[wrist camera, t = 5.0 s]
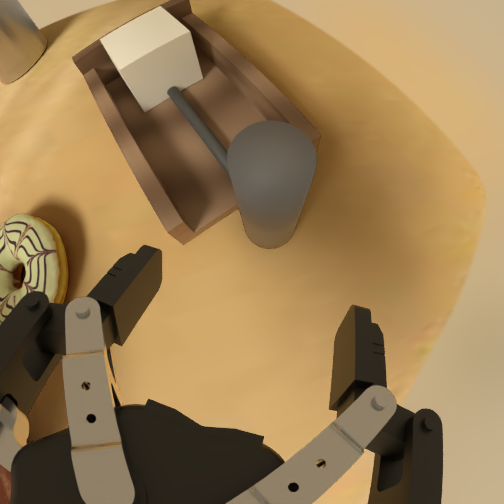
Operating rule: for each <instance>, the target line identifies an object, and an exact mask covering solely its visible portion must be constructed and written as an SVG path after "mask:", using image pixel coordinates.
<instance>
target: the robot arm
mask: <svg viewBox="0 0 504 504" xmlns="http://www.w3.org/2000/svg"><path fill="white" fill-rule="evenodd" d="M46 46H47V40H46V38H45V37H44V36H43V34H42V33H41V32H40V30H39V29H38V28H37V26H36V25H35V23H34V22H33V21H32V19H31V18H30V17H29V15H28V14H27V12H26V11H25V10H24V8H23V7H22V6H21V4H20V3H19V1H18V0H0V81H1V82H2V83H4V84H8V83H11V82H13V81H15V80H17V79H18V78H19V77H21V76H22V75H23V74H25V73H26V72H27V71H28V70H29V69H30V68H31V67H32V66H33V65H34V64H35V63H36V61H37V60H38V59H39V58H40V56H41V55H42V54H43V52H44V50H45V48H46ZM161 282H162V251H161V250H160V249H157V248H154V247H150V246H147V245H143V246H142V247H141V248H140V249H139V250H138V251H137V252H136V254H132V253H129V254H127V255H125V256H123V257H122V258H120V259H119V260H118V261H117V262H116V263H115V264H114V265H113V268H111V269H110V270H109V271H108V272H107V274H106V275H105V276H104V277H103V278H102V279H101V280H100V281H99V283H98V284H97V285H96V286H95V287H94V288H93V290H92V291H91V292H90V293H89V294H88V295H87V297H80V298H76V299H74V300H73V301H71V302H70V303H69V304H58V303H51V302H50V301H49V299H48V296H47V295H46V294H45V293H43V292H41V291H33V292H30V293H28V294H26V295H25V296H23V298H22V299H21V300H20V301H19V302H18V303H17V305H16V306H15V307H14V308H13V310H12V311H11V312H10V313H9V314H8V316H7V317H6V318H5V320H4V321H3V322H2V323H1V325H0V465H2V466H3V467H4V468H6V469H7V470H8V471H10V472H11V497H10V503H9V504H312V503H313V502H315V501H316V500H317V499H318V498H319V497H320V496H321V495H322V494H323V493H325V492H326V491H327V490H328V489H329V488H330V487H331V486H332V485H333V484H334V483H335V482H336V481H337V480H338V479H339V478H340V477H341V476H342V475H343V474H344V473H345V472H346V471H347V470H348V469H349V468H350V467H351V466H352V465H353V464H354V463H355V462H356V461H357V460H358V459H359V458H360V457H361V455H362V454H363V453H364V451H363V450H364V449H368V450H370V451H372V452H374V453H375V459H374V467H373V474H372V482H371V488H370V494H369V500H368V504H441V497H442V478H443V476H442V475H443V433H442V422H441V419H440V418H439V416H438V415H437V413H435V412H434V411H433V410H431V409H421V410H419V411H418V412H416V413H413V412H411V411H409V410H407V409H405V408H403V407H401V406H399V405H398V404H397V403H396V399H395V397H394V395H393V394H392V392H391V391H390V390H388V389H387V383H386V365H385V356H384V354H385V350H384V338H383V333H382V331H381V329H380V327H379V326H378V324H375V323H371V311H370V309H367V308H364V307H360V306H356V305H352V306H351V307H350V309H349V310H348V312H347V314H346V316H345V318H344V320H343V321H342V323H341V325H340V327H339V328H338V331H337V333H336V337H335V341H334V356H333V370H332V382H331V393H330V403H329V410H334V411H337V419H336V420H335V421H334V422H332V423H331V424H330V425H329V426H328V427H327V428H326V429H325V430H323V431H322V432H321V433H320V434H319V435H318V436H317V437H315V438H314V439H313V440H312V441H311V442H310V443H308V444H307V445H306V446H305V447H304V448H302V449H301V450H300V451H299V452H298V453H296V454H295V455H294V456H293V457H291V458H290V459H289V460H288V461H286V462H285V461H284V460H283V459H282V458H281V456H280V455H279V454H278V453H276V452H275V451H274V450H273V449H271V448H270V447H268V446H267V445H265V444H263V439H264V436H260V435H256V434H252V433H249V432H245V431H241V430H238V429H231V428H216V427H205V426H201V425H199V424H198V423H196V422H194V421H193V420H191V419H190V418H188V417H187V416H185V415H183V414H182V413H180V412H179V411H177V410H176V409H173V408H171V407H168V406H166V405H163V404H160V403H158V402H155V401H153V400H150V399H148V401H147V403H146V405H140V404H131V405H123V403H122V399H121V396H120V393H119V389H118V384H117V379H116V374H115V369H114V363H113V357H112V351H111V348H110V347H111V345H112V344H113V342H114V343H116V344H118V345H120V346H122V345H123V344H124V342H125V341H126V339H127V337H128V336H129V334H130V333H131V331H132V330H133V328H134V327H135V325H136V324H137V322H138V320H139V319H140V317H141V316H142V314H143V313H144V311H145V310H146V308H147V307H148V305H149V304H150V302H151V301H152V299H153V298H154V296H155V295H156V293H157V292H158V290H159V288H160V285H161ZM62 355H63V358H62V366H63V380H64V391H65V401H66V409H67V417H68V424H69V428H67V429H64V430H62V431H60V432H57V433H54V434H52V435H49V436H47V437H44V438H42V439H39V440H36V441H34V442H31V443H28V444H27V443H26V439H27V438H28V436H29V432H28V431H29V422H28V419H27V415H28V413H29V411H30V409H31V408H32V406H33V404H34V402H35V400H36V399H37V397H38V395H39V393H40V392H41V390H42V388H43V386H44V385H45V383H46V381H47V380H48V378H49V376H50V374H51V373H52V371H53V370H54V368H55V366H56V365H57V363H58V361H59V360H60V358H61V357H62Z"/></svg>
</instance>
